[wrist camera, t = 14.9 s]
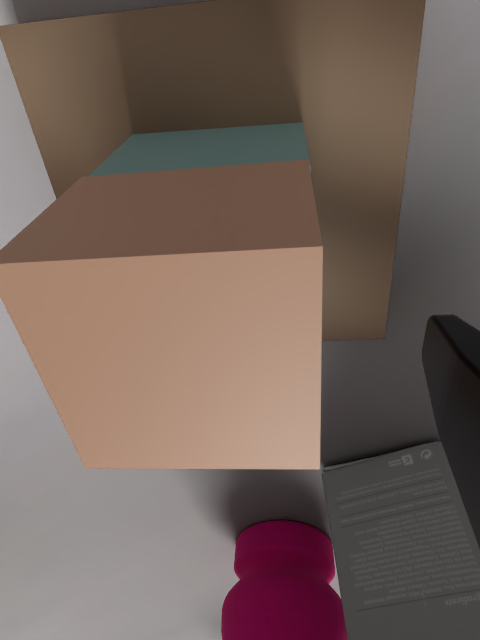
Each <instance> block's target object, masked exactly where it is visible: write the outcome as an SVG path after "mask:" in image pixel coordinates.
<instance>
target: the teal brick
mask: <svg viewBox="0 0 480 640" xmlns="http://www.w3.org/2000/svg"><path fill="white" fill-rule="evenodd" d="M307 159H308V161H309V167H310V173H311V165H310V159H309V153H308V148H307V142H306V137H305V131H304V125H303V122H300V123H286V124H272V125H258V126H244V127H230V128H216V129H202V130H188V131H174V132H160V133H145V134H133V135H131V136H130V137H129V138H128V139H127V140H126V141H125V142H124V143H123V144H122V145H121V146H120V147H119V148H118V149H116V150H115V151H114V152H113V153H112V154H111V155H110V156H109V157H108V158H107V159H106V160H105V161H104V162H103V163H101V164H100V165H99V166H98V167H97V168H96V169H95V170H94V171H93V172H92V173H91V174H90V175H89V176H100V175H113V174H126V173H139V172H152V171H165V170H178V169H191V168H204V167H217V166H230V165H242V164H255V163H268V162H281V161H294V160H307Z"/></svg>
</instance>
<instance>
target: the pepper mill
mask: <svg viewBox="0 0 480 640" xmlns="http://www.w3.org/2000/svg"><path fill="white" fill-rule="evenodd" d="M234 571H235V573H236V575H237V576H238V577H239V579H240V580H239V581H238V582H237V583H236V585H235V586H234V587H233V588H232V589H231V590H230V591H229V593H228V594H227V596H226V598H225V600H224V603H223V608H222V631H221V632H222V640H348V637H347V631H346V625H345V619H344V612H343V606H342V600H341V599H340V597H339V596H338V594H337V593H336V592H335V591H334V590H333V588H332V587H331V586H330V585H329V583H330V582H331V581H332V580H333V578H334V576H335V565H334V555H333V547H332V543H331V541H330V540H329V538H328V537H327V536H326V535H325V534H324V533H323V532H322V531H320V530H318V529H316V528H314V527H312V526H310V525H307V524H304V523H299V522H294V521H284V520H282V521H268V522H262V523H258V524H255V525H253V526H251V527H249V528H247V529H245V530H244V531H243V532H242V533H241V534H240V535H239V537H238V538H237V541H236V549H235V562H234Z"/></svg>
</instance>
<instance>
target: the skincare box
mask: <svg viewBox="0 0 480 640" xmlns="http://www.w3.org/2000/svg"><path fill="white" fill-rule="evenodd" d="M322 480H323V486H324V492H325V498H326V504H327V510H328V517H329V523H330V529H331V536H332V542H333V549H334V555H335V561H336V568H337V574H338V580H339V587H340V594H341V600H342V606H343V612H344V619H345V625H346V631H347V637H348V640H480V549H479V546H478V543H477V541H476V538H475V535H474V532H473V529H472V527H471V524H470V521H469V518H468V515H467V513H466V510H465V507H464V504H463V501H462V499H461V496H460V493H459V490H458V487H457V485H456V482H455V479H454V476H453V473H452V471H451V468H450V465H449V462H448V459H447V457H446V454H445V451H444V448H443V445H442V443H441V442H439V441H437V442H432V443H427V444H422V445H418V446H414V447H410V448H407V449H403V450H399V451H396V452H392V453H388V454H384V455H381V456H377V457H372V458H367V459H362V460H358V461H354V462H349V463H344V464H339V465H333V466H328V467H324V468H323V469H322Z"/></svg>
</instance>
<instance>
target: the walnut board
mask: <svg viewBox="0 0 480 640" xmlns="http://www.w3.org/2000/svg"><path fill="white" fill-rule="evenodd" d="M425 1H426V0H212V1H204V2H196V3H187V4H179V5H171V6H162V7H154V8H145V9H137V10H129V11H120V12H112V13H104V14H95V15H87V16H79V17H70V18H62V19H54V20H45V21H37V22H29V23H20V24H12V25H4V26H0V38H1V41H2V44H3V47H4V50H5V52H6V55H7V58H8V61H9V64H10V67H11V70H12V72H13V75H14V78H15V81H16V84H17V87H18V90H19V93H20V95H21V98H22V101H23V104H24V107H25V110H26V113H27V115H28V118H29V121H30V124H31V127H32V130H33V133H34V136H35V138H36V141H37V144H38V147H39V150H40V153H41V156H42V158H43V161H44V164H45V167H46V170H47V173H48V176H49V178H50V181H51V184H52V187H53V190H54V193H55V196H56V199H58V198H59V197H60V196H61V195H62V194H63V193H64V192H65V191H66V190H68V189H69V188H70V187H71V186H72V185H73V184H74V183H75V182H76V181H77V180H79V179H80V178H81V177H87V176H89V175H90V174H91V173H92V172H93V171H94V170H95V169H96V168H97V167H98V166H99V165H100V164H101V163H103V162H104V161H105V160H106V159H107V158H108V157H109V156H110V155H111V154H112V153H113V152H114V151H115V150H116V149H118V148H119V147H120V146H121V145H122V144H123V143H124V142H125V141H126V140H127V139H128V138H129V137H130V136H131V135H133V134H145V133H160V132H174V131H188V130H202V129H216V128H230V127H244V126H258V125H272V124H286V123H300V122H303V125H304V131H305V137H306V142H307V148H308V153H309V159H310V165H311V179H312V185H313V191H314V197H315V203H316V209H317V215H318V220H319V226H320V232H321V238H322V244H323V275H322V341H326V340H361V339H385V331H386V323H387V315H388V307H389V298H390V290H391V282H392V274H393V265H394V257H395V249H396V241H397V232H398V224H399V216H400V208H401V199H402V191H403V183H404V175H405V166H406V158H407V150H408V142H409V133H410V125H411V117H412V109H413V100H414V92H415V84H416V76H417V67H418V59H419V51H420V43H421V34H422V26H423V18H424V10H425Z"/></svg>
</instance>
